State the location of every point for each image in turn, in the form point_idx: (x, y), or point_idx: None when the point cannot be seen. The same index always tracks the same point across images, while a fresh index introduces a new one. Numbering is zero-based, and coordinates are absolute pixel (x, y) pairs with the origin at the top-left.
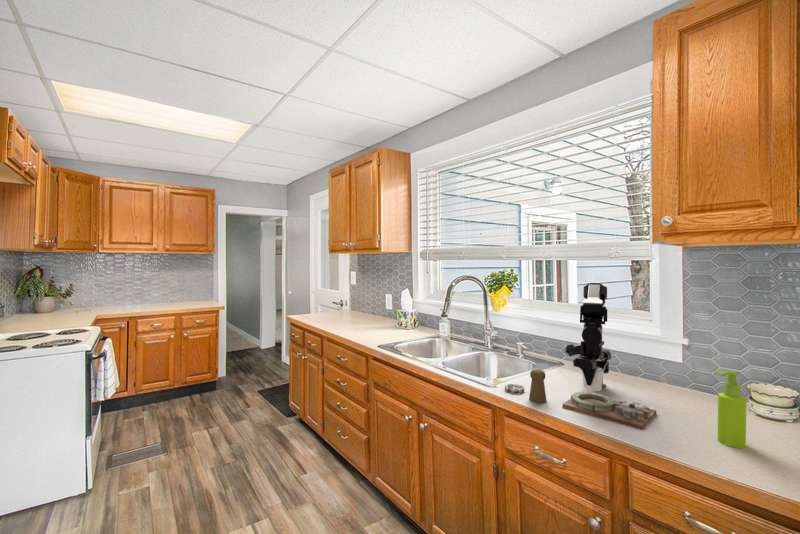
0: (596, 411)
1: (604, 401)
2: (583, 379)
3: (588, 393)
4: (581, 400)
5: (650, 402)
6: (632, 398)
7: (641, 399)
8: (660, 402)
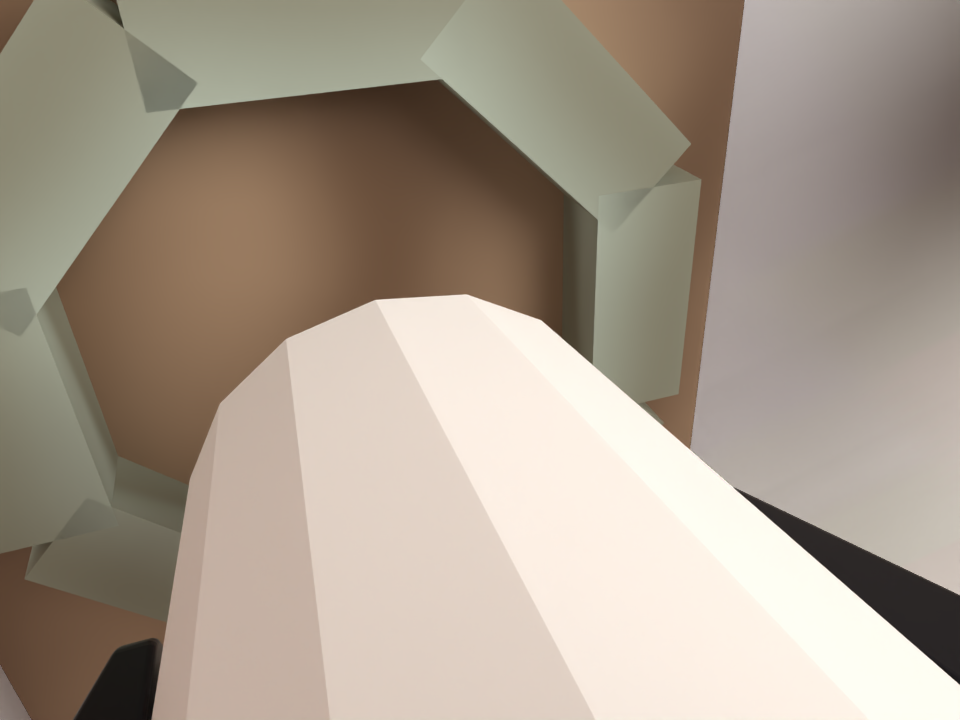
0: (22, 552)
1: None
2: (235, 555)
3: (580, 163)
4: (37, 303)
5: (907, 537)
6: (946, 406)
7: (954, 462)
8: (946, 569)
